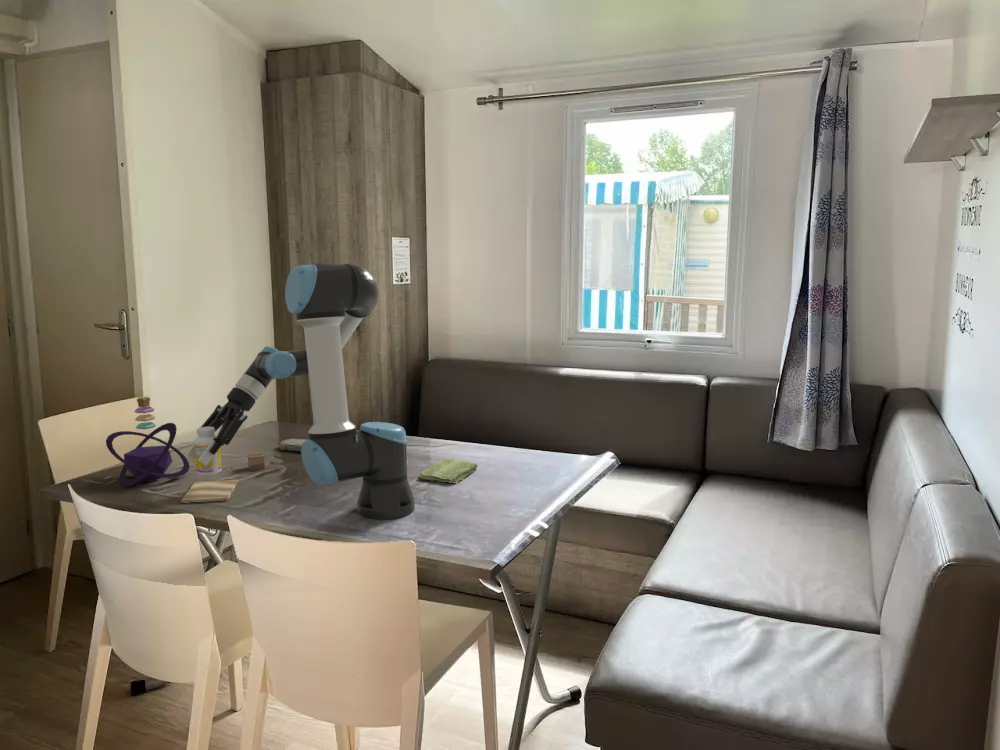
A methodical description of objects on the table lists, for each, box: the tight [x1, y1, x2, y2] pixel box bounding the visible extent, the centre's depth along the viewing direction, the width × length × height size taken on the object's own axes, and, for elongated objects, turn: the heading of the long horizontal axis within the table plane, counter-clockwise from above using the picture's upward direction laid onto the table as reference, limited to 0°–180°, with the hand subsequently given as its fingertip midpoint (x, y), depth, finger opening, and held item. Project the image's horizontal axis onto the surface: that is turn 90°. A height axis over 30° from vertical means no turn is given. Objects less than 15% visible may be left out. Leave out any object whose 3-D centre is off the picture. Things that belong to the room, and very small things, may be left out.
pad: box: [180, 479, 239, 504], centre depth 209 cm, size 16×12×1 cm
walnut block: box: [247, 452, 266, 472], centre depth 231 cm, size 4×4×4 cm
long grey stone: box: [279, 438, 307, 453], centre depth 251 cm, size 35×5×10 cm
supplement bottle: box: [193, 426, 223, 476], centre depth 207 cm, size 7×7×13 cm
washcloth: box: [417, 457, 479, 484], centre depth 224 cm, size 13×18×3 cm
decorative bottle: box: [105, 396, 190, 489], centre depth 220 cm, size 22×21×25 cm
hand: (195, 460), depth 204 cm, fingers closed on supplement bottle, 7 cm apart
